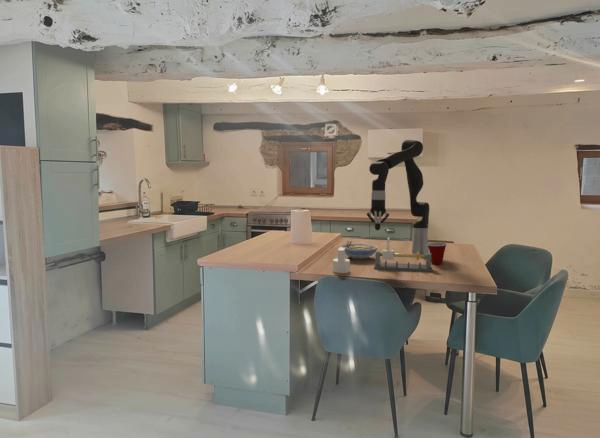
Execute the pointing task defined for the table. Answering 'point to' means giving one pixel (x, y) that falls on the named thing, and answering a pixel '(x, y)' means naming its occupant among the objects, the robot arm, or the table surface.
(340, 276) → the table surface
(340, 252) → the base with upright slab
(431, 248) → the plastic cup
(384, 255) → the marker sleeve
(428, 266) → the cable comb fixture
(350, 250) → the ramen bowl
